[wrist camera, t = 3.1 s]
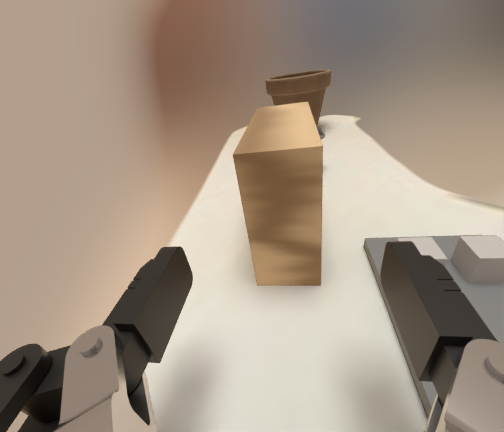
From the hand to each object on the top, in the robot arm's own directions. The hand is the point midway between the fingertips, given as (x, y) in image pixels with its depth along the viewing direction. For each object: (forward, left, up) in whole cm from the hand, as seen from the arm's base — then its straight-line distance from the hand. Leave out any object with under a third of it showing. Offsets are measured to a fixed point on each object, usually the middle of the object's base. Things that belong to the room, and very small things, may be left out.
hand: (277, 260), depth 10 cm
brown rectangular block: (0, -11, -7) cm, 13 cm away
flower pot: (-2, -44, -7) cm, 44 cm away
